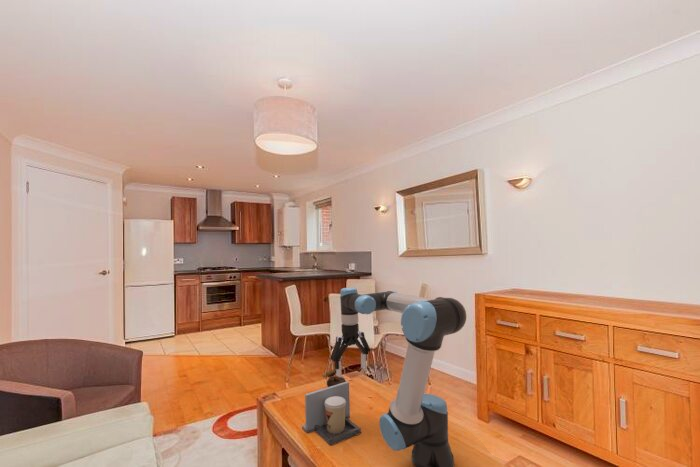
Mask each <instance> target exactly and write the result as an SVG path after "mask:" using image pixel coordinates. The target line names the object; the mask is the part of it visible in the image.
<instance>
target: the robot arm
mask: <svg viewBox="0 0 700 467" xmlns="http://www.w3.org/2000/svg"><path fill="white" fill-rule="evenodd" d="M339 299H340V300H339V301H340V318H341V319H340V320H341V336H336V337H335V342H334V346H333V349H332V353H331V355H330V361H332V362H334V368H335V369H336V373H335V376H338V377H342V361H341V358H342V357H343V355H344V354H345V351H346V349H347V348H348V347H350V346H354V345H355V346H356V347H357V348H358V349H359V351H360V352H361V353H360V368H361V369H362V370H365V371H366V370H367V361H368V355H369V352H371V347H370V346H369V344H368V341H367V340H366V336H365V332H363V331H360V330H359V329H360V328H359V314H362V315H371V314H372V313H373V312H378V311H385V310H387V311H391V312H396V313H400V314H401V318H400V326H402V327H401V332H402V334H403V336H404V337H405V341H406V343H407V349H406V352H405V357H404V361H403V365H402V369H401V370H402V371H401V375H400V380H399V385H398V389H397V392H396V397H395V398H394V399H392V400H391V402H390V404H389V408H388V412H386V413H383V414H381V416H380V418H379V420H378V421H379V429H380V433H381V435H382V438H383V440H384V442H385V443H386V445H387V446H388V447H389V448H390V449H391V450H392V451H395V452H396V451H397V452H398V451H401V450H405V449H407V448H409V447H411V446H413V447H412V450H411V463H412V464H413V466H414V467H454V466H455V461H454V454H453V452H452V450H451V446H450V443H449V422H448V421H449V415H448V414H449V411H448V406H447V402H446V401H445V399H444V398H442V397H441V396H437V395H435V394H431V393H425V392H426V389H427V384H428V379H429V375H430V372H431V368H432V363H433V360H434V356H435V352H437V351H439V350H440V349H441V348H442V345H443V341H444V337H445V336H449V335H452V334H453V335H454V334H457V333H458V332H459V331H461V330H462V329H463V327H464V326H465V324H466V321H467V311H466V308H465V307H464V305H463V304H462V302H460V300H459V301H458V299H455V298H453V297H442V296H439V297H435V298H429V297H424V296H423V297H422V296H417V295H410V294H403V293H398V292H397V291H395V290H392V291H391V290H387V291H381V292H373V293H363V294H361V293H360V294H359V292H358V289H357V288H356V287H343V288H341V289H340V296H339Z"/></svg>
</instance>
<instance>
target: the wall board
mask: <svg viewBox="0 0 700 467" xmlns="http://www.w3.org/2000/svg"><path fill="white" fill-rule="evenodd" d="M333 396H339V397H343V398H344V399H345V401H346V408H345V417H346V418H348V419H350V417H351V412H350V411H351V410H350V408H351V407H350V382H349V381H346V382H344V383H340V384H337V385H334V386H330V387H328V386H326V387H324V388H320V389H318V390H314V391H312V392H307V393H305V394H304V397H305V398H304V407H305V408H304V409H305V410H304V411H305V414H304V415H305V416H304V417H305V424H304V425H301V428H302V429H303V431H305V433H307V434H309V433H311V432H314V431H315V425H318V426H320V427H323V426H325V425H327V424H326V413H325V404H324V403H325V400H326V399H327V398H329V397H333ZM315 432H316V431H315Z"/></svg>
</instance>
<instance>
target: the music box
mask: <svg viewBox="0 0 700 467" xmlns="http://www.w3.org/2000/svg"><path fill="white" fill-rule="evenodd" d="M321 377H323V378H327V379H326V387H330V386H334V385H337V384H340V383H344V382H347V380H346V379H345V378H344V377H343V376H341V377H338V376H336V369H335V367H334V368H333V369H332V370H329V371H328V372H326V373H325V374H322V375H321Z"/></svg>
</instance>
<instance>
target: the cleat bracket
mask: <svg viewBox="0 0 700 467" xmlns="http://www.w3.org/2000/svg"><path fill="white" fill-rule="evenodd" d="M361 431H362V430H361V427H359V425H357V424H356V423H354V422H353V421H352V420H351V419H350V418H346V417H345V428H344V431H342V432H341V433H337V434H333V433H330V432H328V431H327V425H325V426H323V427H320V426H318V425H315V433H317V435H318V436H319V437H320V438H322V439H323V440H324V441H325V442H326V443H327V444H328V445H329V446H333V445H336V444H338V443H341V442H343V441H345V440H348V439H350V438H352V437H355V436H357V435H359V434H361V433H362V432H361Z"/></svg>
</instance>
